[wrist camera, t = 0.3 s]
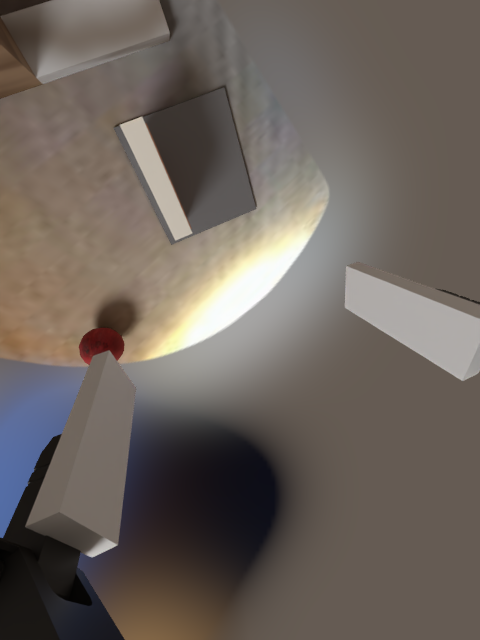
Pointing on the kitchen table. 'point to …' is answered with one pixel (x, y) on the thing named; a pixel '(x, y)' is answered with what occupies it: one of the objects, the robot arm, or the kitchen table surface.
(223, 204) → the mat
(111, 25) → the tan l-shaped piece
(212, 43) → the kitchen table surface
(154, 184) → the tile
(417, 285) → the robot arm
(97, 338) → the onion
